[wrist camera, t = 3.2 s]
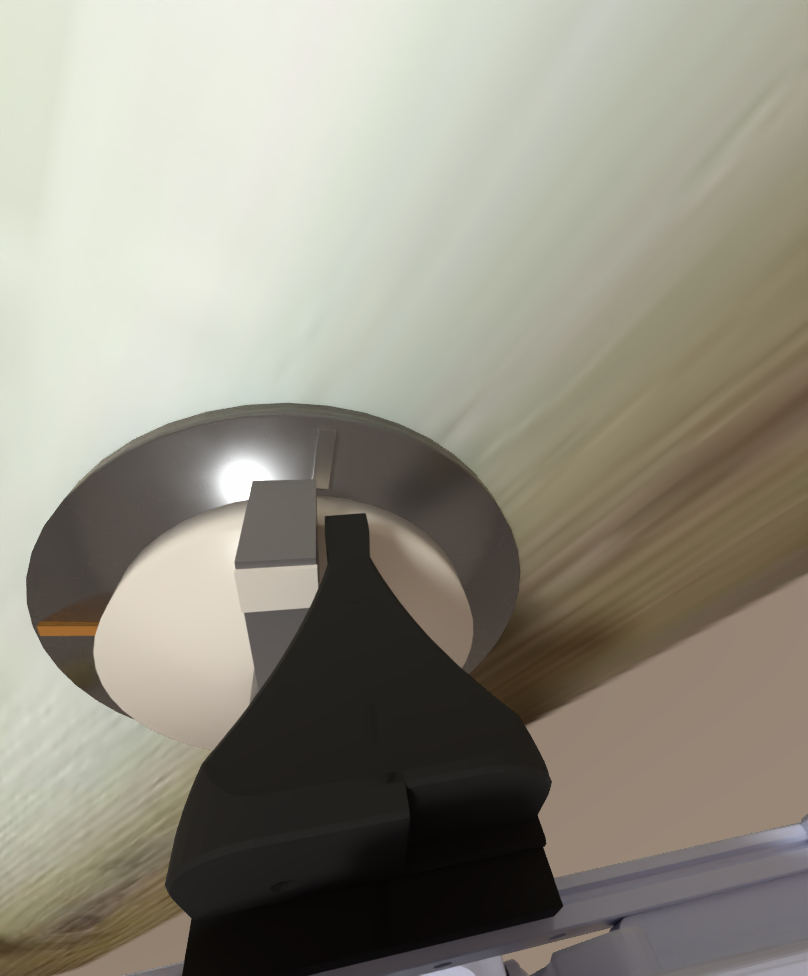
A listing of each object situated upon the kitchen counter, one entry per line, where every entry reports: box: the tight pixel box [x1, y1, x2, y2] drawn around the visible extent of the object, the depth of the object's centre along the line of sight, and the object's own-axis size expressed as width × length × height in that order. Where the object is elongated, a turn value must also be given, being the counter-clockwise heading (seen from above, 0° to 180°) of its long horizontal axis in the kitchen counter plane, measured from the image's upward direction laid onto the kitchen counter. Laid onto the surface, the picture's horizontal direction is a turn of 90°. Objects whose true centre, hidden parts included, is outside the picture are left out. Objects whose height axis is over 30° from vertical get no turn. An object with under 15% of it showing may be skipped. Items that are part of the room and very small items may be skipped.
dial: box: [93, 479, 473, 750], centre depth 14 cm, size 14×13×5 cm
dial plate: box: [26, 403, 520, 720], centre depth 17 cm, size 18×18×1 cm
